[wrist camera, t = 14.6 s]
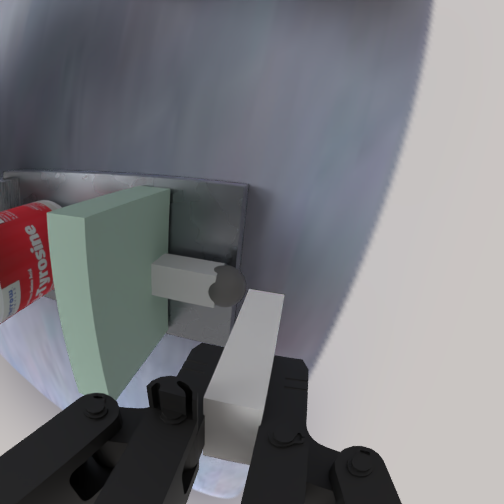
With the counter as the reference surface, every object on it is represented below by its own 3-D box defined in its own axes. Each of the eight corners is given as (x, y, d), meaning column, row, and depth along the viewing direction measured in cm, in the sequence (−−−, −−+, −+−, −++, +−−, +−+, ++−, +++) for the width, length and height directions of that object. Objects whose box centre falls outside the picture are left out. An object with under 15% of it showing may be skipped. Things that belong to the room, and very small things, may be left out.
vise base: (25, 278, 23) (-40, 318, 15) (15, 169, 20) (-64, 187, 12) (233, 335, 21) (194, 428, 13) (248, 184, 18) (200, 212, 10)
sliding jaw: (141, 322, 20) (79, 392, 13) (139, 185, 17) (46, 212, 10) (242, 345, 19) (209, 437, 12) (259, 199, 16) (221, 238, 9)
